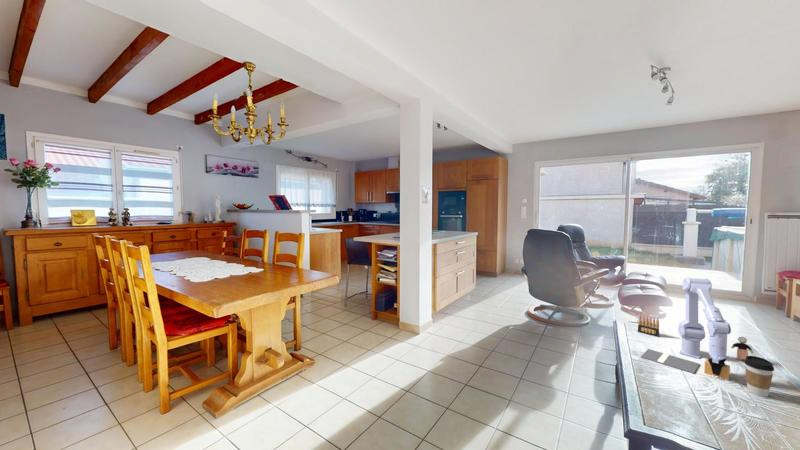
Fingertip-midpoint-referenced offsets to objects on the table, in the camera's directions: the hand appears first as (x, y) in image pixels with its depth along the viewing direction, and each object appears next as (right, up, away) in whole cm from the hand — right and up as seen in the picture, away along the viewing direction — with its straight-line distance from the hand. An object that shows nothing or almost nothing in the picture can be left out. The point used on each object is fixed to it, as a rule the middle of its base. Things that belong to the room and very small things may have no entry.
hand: (716, 372), depth 144 cm
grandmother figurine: (+28, 0, +14) cm, 32 cm away
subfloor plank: (-11, -1, +14) cm, 18 cm away
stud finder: (0, -2, 0) cm, 2 cm away
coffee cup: (+3, -2, -14) cm, 14 cm away
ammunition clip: (+7, +1, +48) cm, 48 cm away
